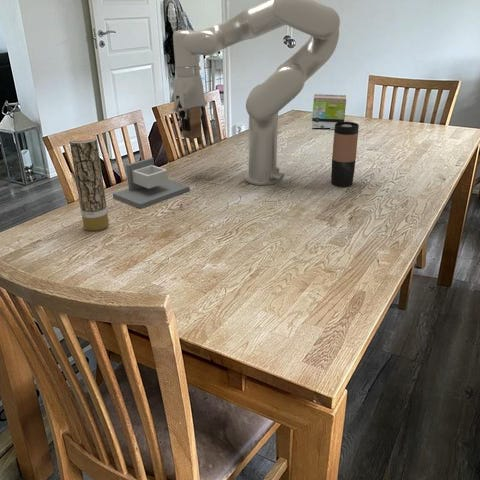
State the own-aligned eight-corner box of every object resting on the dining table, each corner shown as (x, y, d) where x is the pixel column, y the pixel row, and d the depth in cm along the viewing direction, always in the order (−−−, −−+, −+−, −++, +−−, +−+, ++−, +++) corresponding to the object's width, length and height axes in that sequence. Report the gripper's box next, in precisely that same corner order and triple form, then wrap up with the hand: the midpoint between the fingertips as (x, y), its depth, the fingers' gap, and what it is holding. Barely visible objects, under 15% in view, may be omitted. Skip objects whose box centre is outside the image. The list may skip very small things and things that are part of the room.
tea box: (311, 129, 233) (313, 97, 227) (312, 124, 242) (313, 93, 236) (343, 130, 231) (346, 98, 225) (343, 125, 240) (345, 94, 233)
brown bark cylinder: (102, 232, 133) (89, 141, 122) (79, 231, 134) (63, 140, 123) (113, 222, 139) (101, 134, 128) (90, 220, 140) (77, 133, 129)
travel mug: (355, 181, 168) (361, 122, 159) (350, 189, 161) (356, 128, 152) (333, 178, 170) (338, 120, 162) (327, 185, 164) (331, 125, 155)
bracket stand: (189, 190, 161) (187, 161, 157) (140, 208, 148) (137, 177, 143) (161, 181, 170) (159, 153, 165) (113, 197, 156) (109, 167, 152)
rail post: (201, 136, 167) (199, 106, 162) (192, 139, 164) (189, 108, 160) (192, 134, 170) (190, 104, 165) (183, 137, 167) (180, 107, 162)
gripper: (198, 68, 165) (202, 122, 173) (159, 74, 154) (165, 132, 162) (214, 69, 161) (217, 125, 169) (175, 76, 150) (180, 135, 158)
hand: (191, 128), depth 165 cm, fingers closed on rail post, 4 cm apart
